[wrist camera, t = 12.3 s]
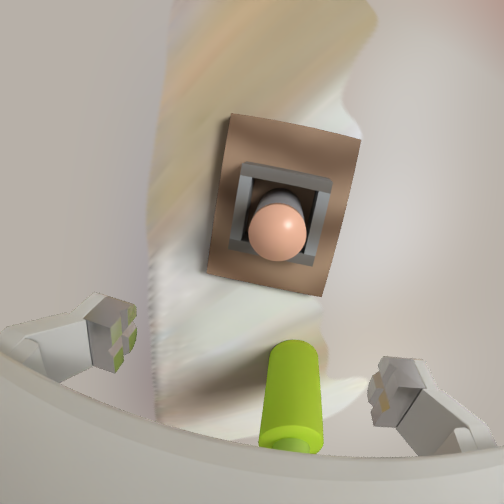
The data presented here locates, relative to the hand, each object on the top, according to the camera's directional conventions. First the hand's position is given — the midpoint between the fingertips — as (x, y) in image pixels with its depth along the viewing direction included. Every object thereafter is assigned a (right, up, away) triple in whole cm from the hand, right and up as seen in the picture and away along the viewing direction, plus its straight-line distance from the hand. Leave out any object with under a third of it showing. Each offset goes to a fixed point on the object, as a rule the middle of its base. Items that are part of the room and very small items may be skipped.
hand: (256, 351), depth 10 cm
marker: (+2, +7, +20) cm, 21 cm away
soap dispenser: (+4, -10, +27) cm, 30 cm away
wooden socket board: (+3, +8, +21) cm, 23 cm away
